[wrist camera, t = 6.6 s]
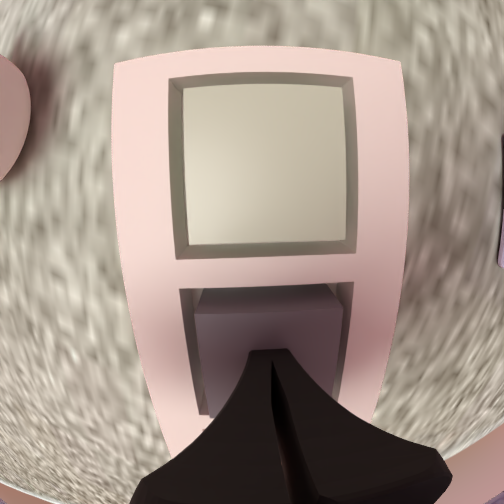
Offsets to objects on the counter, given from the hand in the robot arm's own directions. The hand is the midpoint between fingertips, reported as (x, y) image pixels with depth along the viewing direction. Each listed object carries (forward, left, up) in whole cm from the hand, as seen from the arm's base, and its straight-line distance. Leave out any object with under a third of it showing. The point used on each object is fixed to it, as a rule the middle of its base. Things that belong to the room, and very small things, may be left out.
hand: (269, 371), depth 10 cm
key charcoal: (0, 0, -3) cm, 3 cm away
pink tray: (0, 0, -4) cm, 4 cm away
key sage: (0, -7, -3) cm, 8 cm away
